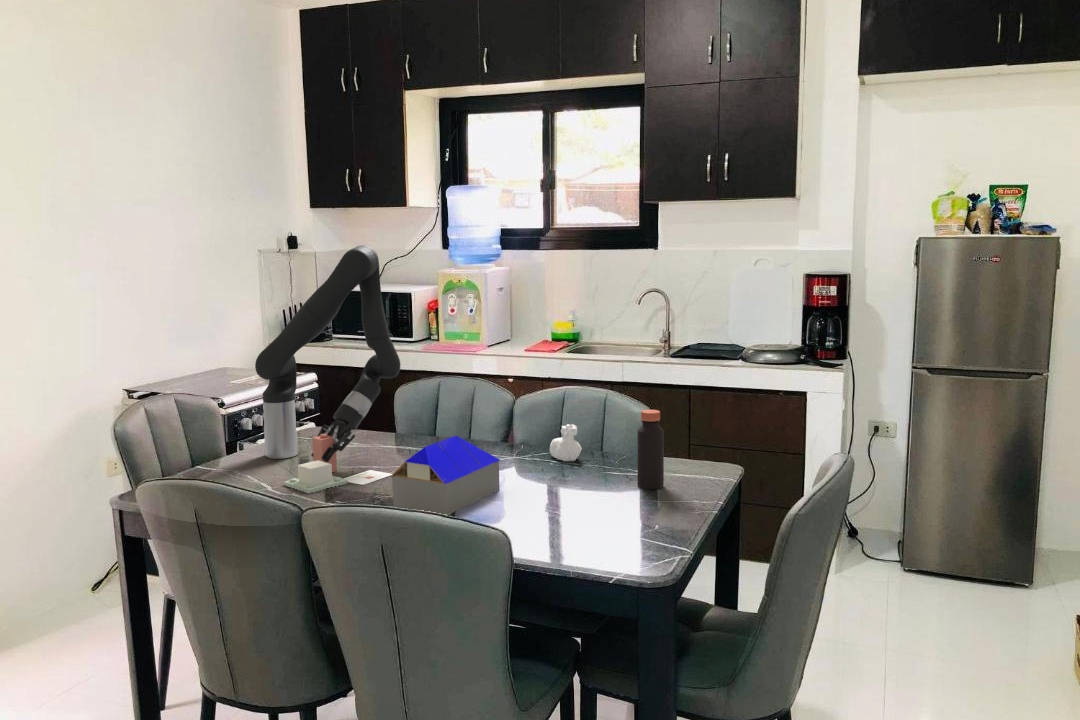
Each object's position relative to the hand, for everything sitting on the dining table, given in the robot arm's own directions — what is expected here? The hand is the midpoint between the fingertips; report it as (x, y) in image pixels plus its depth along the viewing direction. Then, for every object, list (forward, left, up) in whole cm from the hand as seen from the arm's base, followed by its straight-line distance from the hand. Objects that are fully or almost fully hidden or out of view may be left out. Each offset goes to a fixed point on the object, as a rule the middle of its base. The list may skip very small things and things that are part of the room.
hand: (319, 458), depth 242 cm
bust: (+43, +57, -5) cm, 71 cm away
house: (+46, +8, -5) cm, 47 cm away
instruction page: (+14, +6, -4) cm, 16 cm away
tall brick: (0, +2, -4) cm, 5 cm away
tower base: (+9, -7, -4) cm, 12 cm away
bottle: (+79, +49, -4) cm, 93 cm away
